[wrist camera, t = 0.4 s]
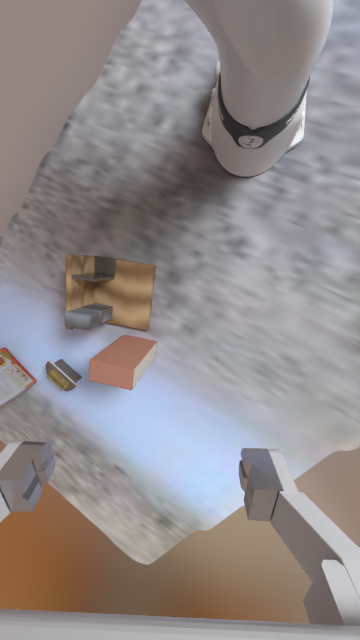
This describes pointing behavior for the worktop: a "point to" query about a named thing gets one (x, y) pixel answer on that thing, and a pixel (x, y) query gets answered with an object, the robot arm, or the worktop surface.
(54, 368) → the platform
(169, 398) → the worktop surface
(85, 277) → the bookend
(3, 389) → the cracker box
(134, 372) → the book
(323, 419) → the worktop surface
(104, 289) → the wooden display stand
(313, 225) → the worktop surface
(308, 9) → the robot arm
